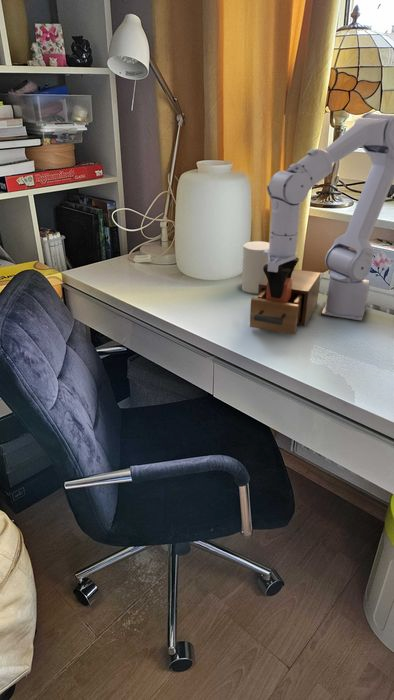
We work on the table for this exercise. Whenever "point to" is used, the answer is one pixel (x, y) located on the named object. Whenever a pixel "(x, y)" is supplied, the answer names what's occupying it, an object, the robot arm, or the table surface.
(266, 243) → the cream upright cylinder
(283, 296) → the block
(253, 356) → the table surface
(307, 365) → the table surface
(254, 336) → the table surface
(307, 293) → the cabinet
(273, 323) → the drawer
